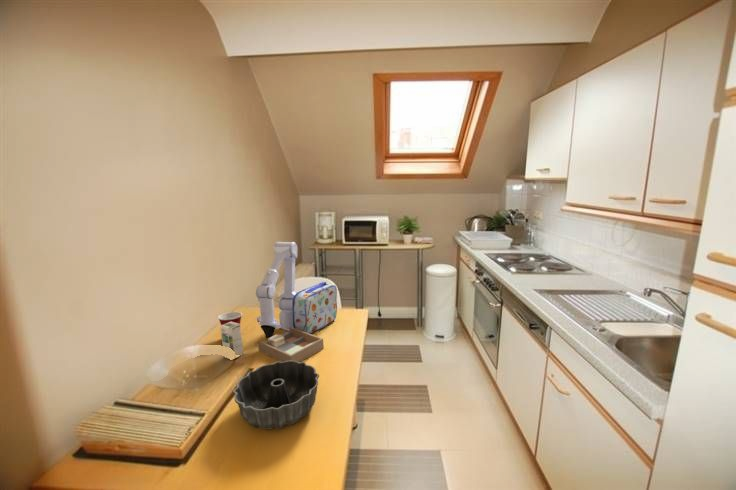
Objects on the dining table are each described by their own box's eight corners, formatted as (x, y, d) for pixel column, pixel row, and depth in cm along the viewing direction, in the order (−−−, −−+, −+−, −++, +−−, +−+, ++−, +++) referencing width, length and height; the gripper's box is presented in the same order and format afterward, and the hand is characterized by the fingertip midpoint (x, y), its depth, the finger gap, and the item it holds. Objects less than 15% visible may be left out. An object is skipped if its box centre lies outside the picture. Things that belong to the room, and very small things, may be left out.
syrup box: (223, 358, 141) (219, 326, 139) (234, 351, 147) (231, 320, 144) (232, 361, 139) (229, 328, 136) (243, 354, 144) (240, 322, 141)
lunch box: (325, 314, 185) (323, 276, 180) (341, 318, 179) (339, 278, 175) (291, 334, 161) (287, 291, 157) (307, 339, 156) (304, 294, 152)
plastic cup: (248, 333, 164) (245, 310, 162) (239, 343, 154) (236, 319, 152) (226, 333, 165) (223, 310, 162) (216, 343, 154) (213, 319, 152)
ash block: (268, 344, 147) (267, 338, 146) (277, 340, 151) (277, 334, 150) (275, 347, 144) (274, 341, 143) (284, 343, 148) (284, 337, 147)
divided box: (258, 350, 147) (257, 341, 146) (291, 335, 161) (290, 326, 160) (291, 366, 133) (290, 356, 132) (323, 348, 147) (323, 338, 146)
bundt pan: (218, 436, 97) (215, 406, 96) (259, 383, 123) (257, 358, 121) (306, 444, 94) (303, 412, 92) (329, 387, 119) (327, 361, 117)
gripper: (249, 310, 148) (252, 338, 151) (269, 317, 140) (272, 347, 142) (263, 305, 154) (265, 333, 156) (283, 312, 145) (285, 341, 148)
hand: (269, 339), depth 150 cm, fingers closed
